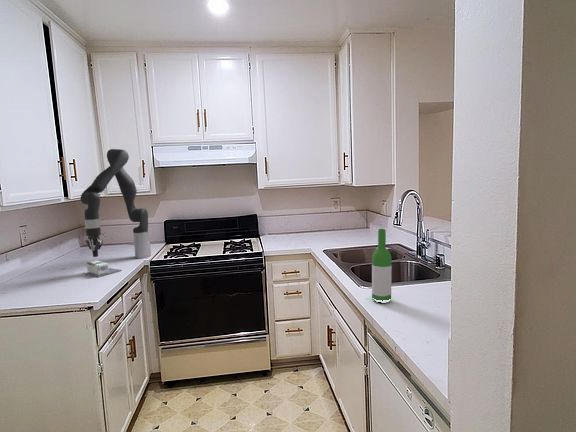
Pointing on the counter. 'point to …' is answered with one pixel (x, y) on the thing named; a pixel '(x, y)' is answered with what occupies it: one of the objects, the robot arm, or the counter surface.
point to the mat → (104, 274)
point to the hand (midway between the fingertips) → (95, 256)
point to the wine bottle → (381, 269)
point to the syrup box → (97, 267)
